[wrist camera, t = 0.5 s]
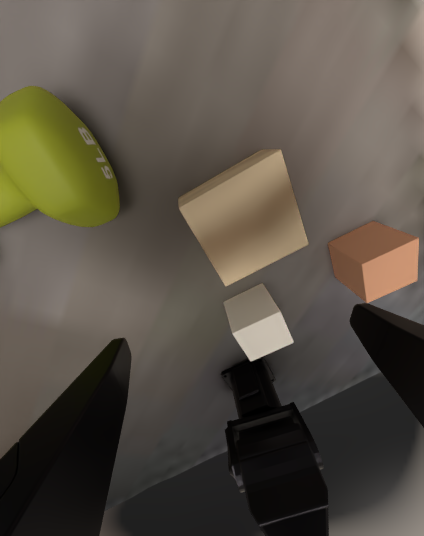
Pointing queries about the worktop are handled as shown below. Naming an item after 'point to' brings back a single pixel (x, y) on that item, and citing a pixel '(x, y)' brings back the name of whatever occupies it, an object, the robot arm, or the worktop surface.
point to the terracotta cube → (375, 260)
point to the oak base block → (246, 216)
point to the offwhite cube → (257, 322)
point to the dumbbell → (52, 163)
